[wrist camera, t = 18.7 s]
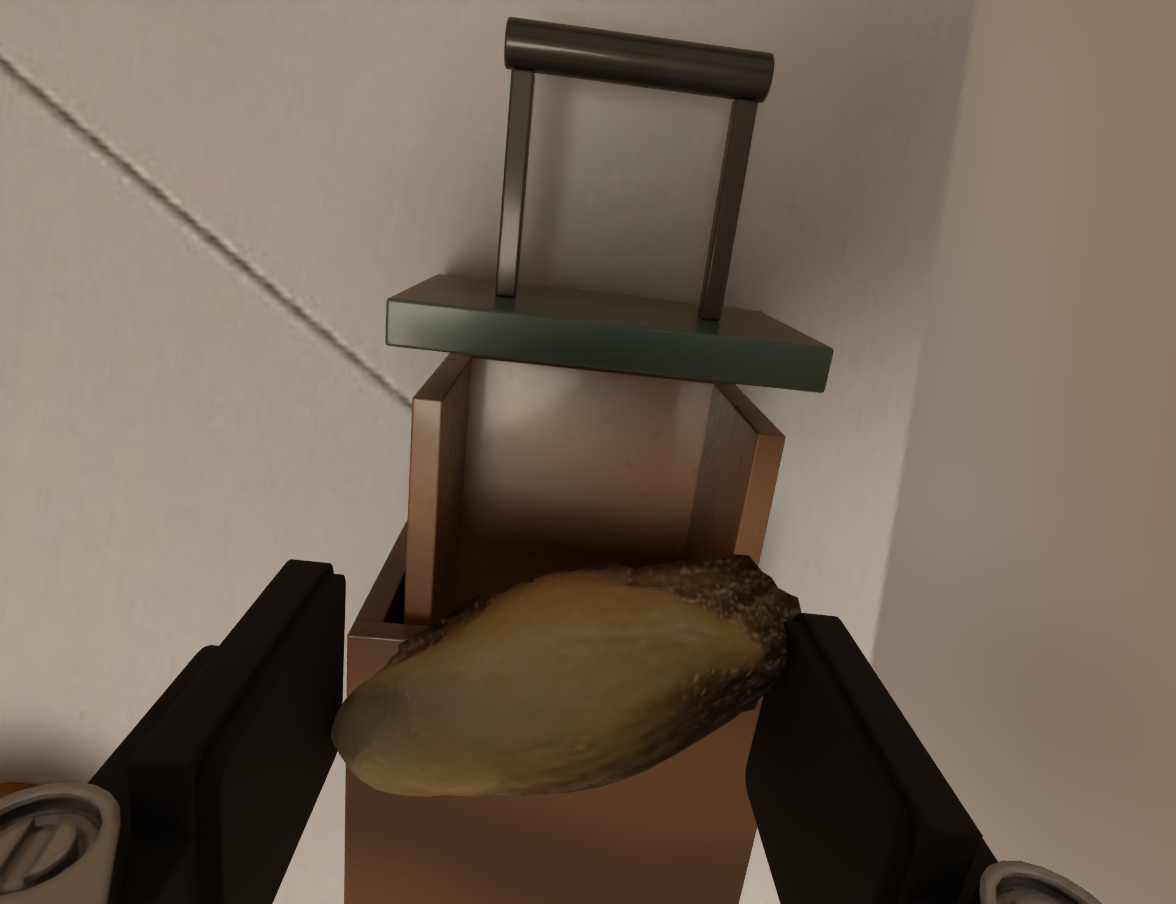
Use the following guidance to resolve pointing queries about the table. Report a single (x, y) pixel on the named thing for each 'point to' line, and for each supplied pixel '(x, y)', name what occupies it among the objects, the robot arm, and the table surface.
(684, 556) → the drawer
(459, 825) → the cabinet
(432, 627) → the brazil nut
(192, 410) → the table surface
